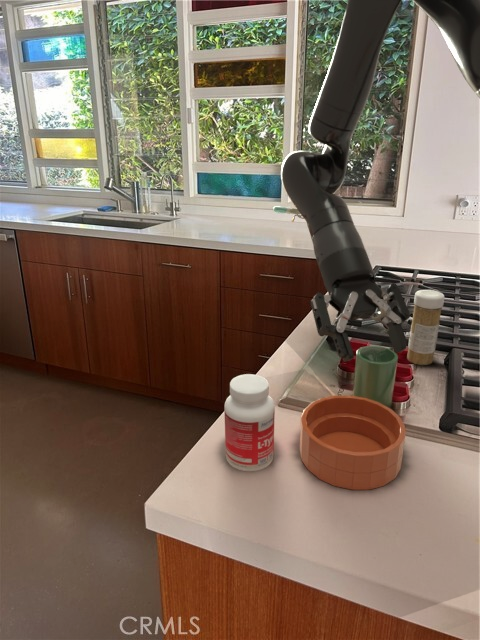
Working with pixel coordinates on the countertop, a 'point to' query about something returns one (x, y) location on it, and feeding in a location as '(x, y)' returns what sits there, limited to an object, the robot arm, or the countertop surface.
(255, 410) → the pill bottle
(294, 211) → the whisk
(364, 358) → the green cup
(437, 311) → the sprinkles bottle
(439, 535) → the countertop surface
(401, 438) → the terracotta bowl
